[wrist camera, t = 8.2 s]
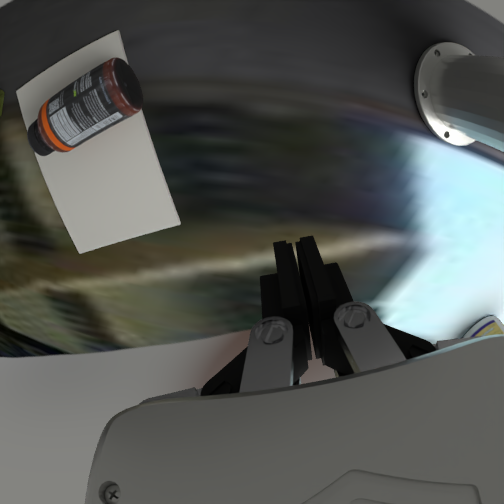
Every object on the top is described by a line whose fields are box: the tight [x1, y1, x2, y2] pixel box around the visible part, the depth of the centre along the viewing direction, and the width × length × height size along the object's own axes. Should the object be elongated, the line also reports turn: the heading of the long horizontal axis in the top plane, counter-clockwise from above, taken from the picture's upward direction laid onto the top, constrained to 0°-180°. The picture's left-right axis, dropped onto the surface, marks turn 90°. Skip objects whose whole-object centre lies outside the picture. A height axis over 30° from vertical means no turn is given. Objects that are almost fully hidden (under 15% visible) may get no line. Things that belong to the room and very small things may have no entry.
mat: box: [16, 30, 181, 254], centre depth 26 cm, size 14×22×1 cm, turn 14°
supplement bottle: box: [27, 57, 143, 156], centre depth 22 cm, size 6×6×11 cm
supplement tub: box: [463, 316, 504, 338], centre depth 40 cm, size 12×12×17 cm
